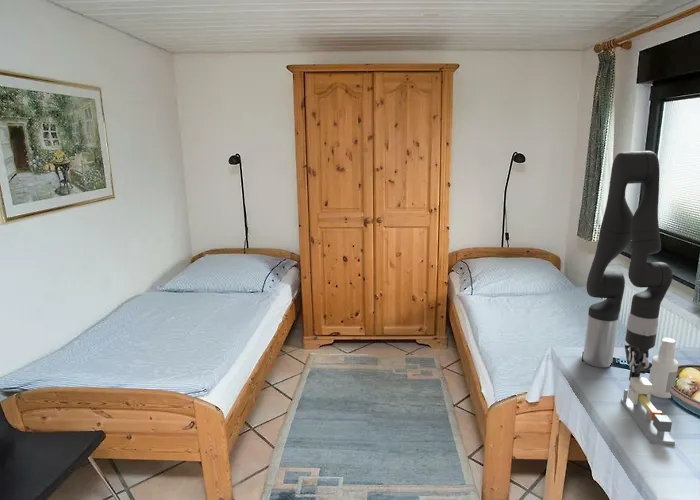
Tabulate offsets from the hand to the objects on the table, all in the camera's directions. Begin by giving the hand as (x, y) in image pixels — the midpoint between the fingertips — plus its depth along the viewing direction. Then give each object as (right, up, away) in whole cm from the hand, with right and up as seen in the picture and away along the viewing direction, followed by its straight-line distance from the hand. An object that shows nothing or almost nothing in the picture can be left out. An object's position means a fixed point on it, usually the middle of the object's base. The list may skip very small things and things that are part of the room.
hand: (633, 382), depth 146 cm
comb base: (-1, -9, -8) cm, 12 cm away
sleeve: (0, -5, -3) cm, 6 cm away
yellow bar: (-1, -6, -9) cm, 11 cm away
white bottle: (+12, -5, +6) cm, 14 cm away
